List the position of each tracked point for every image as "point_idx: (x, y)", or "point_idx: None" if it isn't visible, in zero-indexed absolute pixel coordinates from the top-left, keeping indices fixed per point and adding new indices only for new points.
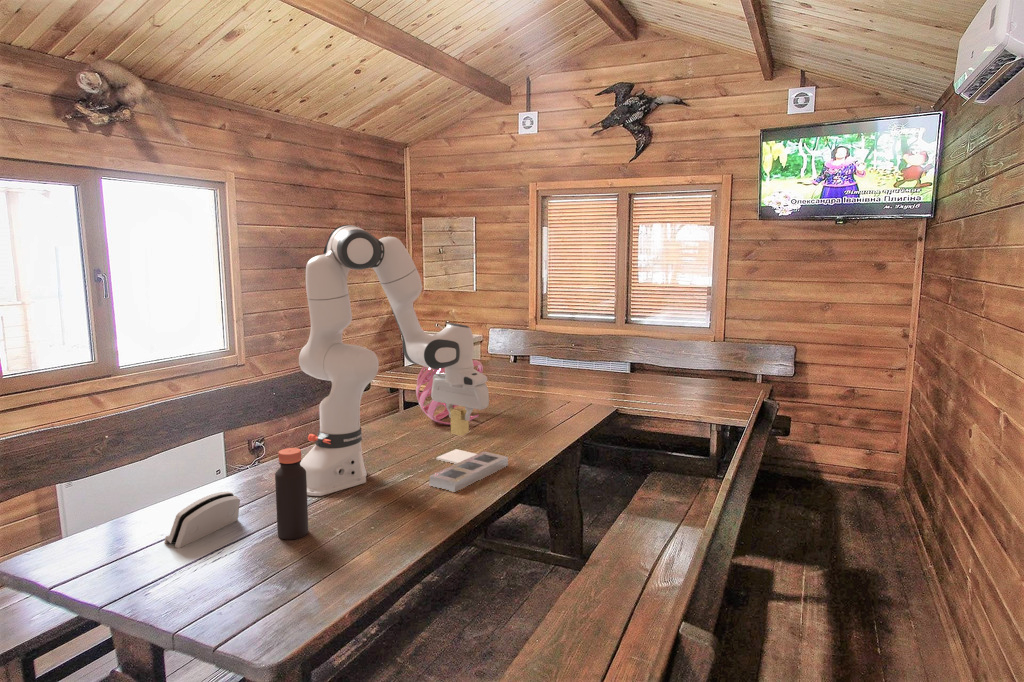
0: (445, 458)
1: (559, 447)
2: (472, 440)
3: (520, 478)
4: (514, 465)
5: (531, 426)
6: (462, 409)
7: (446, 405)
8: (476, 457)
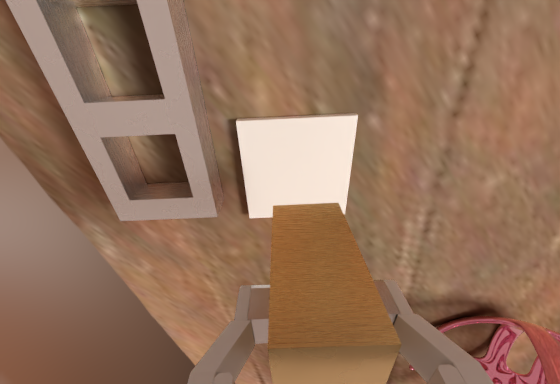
0: (320, 127)
1: (171, 333)
2: None
3: (16, 148)
4: None
5: None
6: (283, 371)
7: (481, 376)
8: (183, 156)
